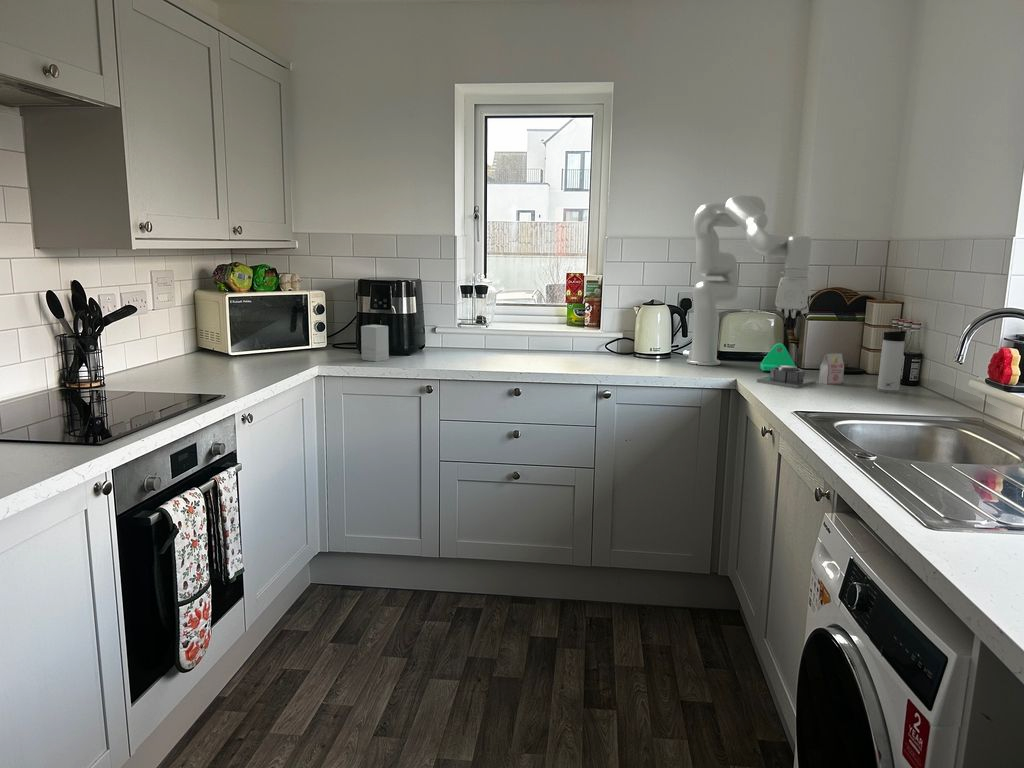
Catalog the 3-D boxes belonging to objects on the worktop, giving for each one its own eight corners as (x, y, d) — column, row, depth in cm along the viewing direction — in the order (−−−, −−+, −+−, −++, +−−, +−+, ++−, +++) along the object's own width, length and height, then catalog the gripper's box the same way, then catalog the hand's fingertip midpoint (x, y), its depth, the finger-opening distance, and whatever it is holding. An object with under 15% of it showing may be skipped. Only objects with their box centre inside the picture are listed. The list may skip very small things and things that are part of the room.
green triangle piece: (761, 373, 278) (764, 344, 276) (760, 369, 285) (762, 342, 283) (796, 375, 275) (799, 346, 273) (794, 371, 282) (796, 344, 280)
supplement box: (389, 359, 286) (389, 325, 284) (375, 361, 280) (375, 327, 278) (374, 357, 290) (374, 324, 288) (360, 359, 284) (360, 325, 282)
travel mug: (890, 394, 242) (898, 331, 238) (872, 390, 248) (879, 329, 244) (903, 393, 245) (911, 330, 241) (885, 389, 251) (892, 328, 247)
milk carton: (818, 382, 261) (821, 353, 259) (834, 381, 263) (837, 352, 261) (826, 384, 257) (829, 355, 255) (842, 383, 260) (845, 354, 258)
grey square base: (756, 381, 258) (757, 368, 258) (776, 377, 268) (777, 364, 267) (797, 388, 249) (798, 374, 248) (815, 383, 259) (816, 370, 258)
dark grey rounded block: (773, 379, 258) (774, 366, 257) (781, 377, 262) (783, 364, 262) (790, 382, 254) (792, 368, 253) (798, 380, 258) (800, 366, 258)
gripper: (769, 272, 254) (763, 328, 258) (813, 275, 244) (807, 333, 248) (779, 272, 260) (774, 326, 263) (823, 275, 249) (817, 331, 253)
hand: (790, 329), depth 256 cm, fingers closed
